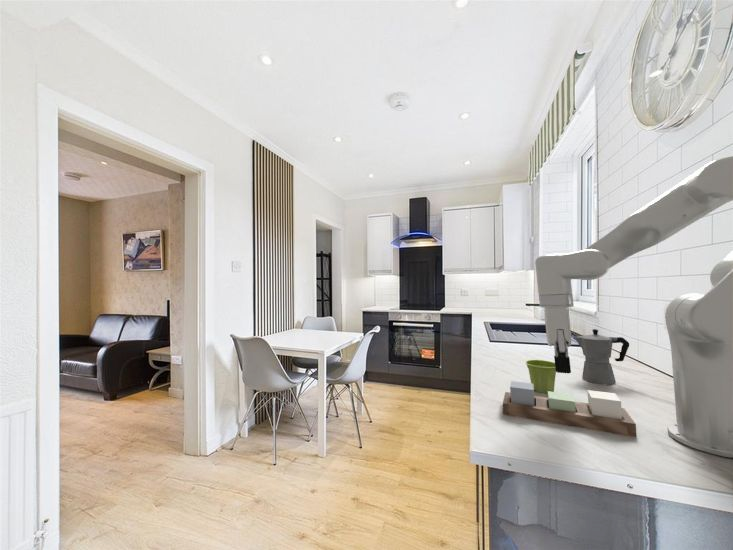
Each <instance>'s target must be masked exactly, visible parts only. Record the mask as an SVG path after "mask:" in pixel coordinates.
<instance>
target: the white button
mask: <svg viewBox="0 0 733 550" xmlns="http://www.w3.org/2000/svg"><path fill="white" fill-rule="evenodd" d="M587 403H588V406H589V411H590V414H591V415H596V416H603V417H610V418H616V419H622V408H623V407H622V401H621V399H620V398H619V397H618V395H617V394H616V392H615V393H613V392H605V391H600V390H599V391H597V390H590V389H587Z"/></svg>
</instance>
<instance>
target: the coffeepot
mask: <svg viewBox="0 0 733 550" xmlns="http://www.w3.org/2000/svg"><path fill="white" fill-rule="evenodd" d="M592 333H593V334H587V335H580V336H579V335H578V336H574V337H572V339H573V340H575V341H576V343H578V345H579V347H580V348H581V349H582V354H583V356H584V357H585V360H584V362H583V371H582V375H581V379H583V380H584V381H585V380H586V381H585V382H588V383H591V382H592V384H597V385H603V384H611V385H615V383H616V378H615V374H614V370H613V367H612V363H611V362H610V358H611V357H612V351H613V344H615V343H616V344H619V343H621V344H622V345H621V349H620V351H619V357H618V358H614V360H615V361H616V362H623V361H624V359H625V357H626V355H627V353H628V350H629V347H630V342H629V341H628V340H626V339H625V337H619V336H617V337H616V336H615V337H614V336H604V335H601V334H599V329H596V328H594V329H592Z"/></svg>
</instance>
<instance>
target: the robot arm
mask: <svg viewBox="0 0 733 550" xmlns="http://www.w3.org/2000/svg"><path fill="white" fill-rule="evenodd" d="M732 201H733V156H727V157H723V158H719V159H718V158H717V159H715V160H713V161H710V162H709V163H707V164H705V165H704V166H702V167H701V168H699V169H698V170H696V171H695V172H694V173H693V174H691V175H689V176H688V177H686V178H685V179H684V180H681V182H679V183H678V184H676V185H675V186H673V187H672V188H669V190H667V191H665V192H664V193H663V194H661V195H660V196H658V197H656V198H655V199H654V200H652V201H650V202H649V203H647V204H646V205H645V206H643V207H641V208H640V209H638V210H637V211H635V212H634V213H632V214H631V215H629V216H627V218H625V219H624V220H623V221H622V222H621V223H619V224H618V225H617V226H616V227H615V228H614V229H612V230H611V231H609V232H608V233H606V234H605V235H604V236H602V237H601V238H600V239H598V240H596V241H595V242H594V243H592V244H590V245H588V246H587V247H585V248H584V249H582V250H578V251H574V252H569V253H564V254H563V253H554V254H553V253H552V254H544V255H541V256H538V257H536V259H535V260H534V261H535V264H534V265H535V273H536V282H537V292H538V303H539V308H542V309H543V310H544V324H545V325H544V326H545V333H546V342H547V345H548V346H549V347H552V345H553V347H554V348H553V349H554V355H553V357H554V363H555V369H556V374H557V373H558V374H571V373H572V370H571V360H570V357H569V348H570V347H571V346H572V333H571V331H572V329H571V320H570V310H569V308H572V307H573V308H574V307H575V306H574V297H573V296H574V295H573V290H572V289H573V287H572V280H582V281H594V280H597V279H600V278H602V277H603V276H604V275H606V274H607V273H608V272H609V269H611V268H612V267H615V265H618V264H619V263H620V262H622V261H624V260H626V259H627V258H629V257H631V256H633V255H635V254H637V253H640V252H643V251H644V250H647V249H649V248H652V247H654V246H656V245H659V244H660V243H662V242H664V241H666V240H668V239H669V238H671V237H672V236H674V235H675V234H677V233H679V232H681V230H683V229H685V228H687V227H689V226H690V225H692V224H693V223H695V222H697V221H699V220H700V219H702V218H704V217H705V216H707V215H708V214H710V213H712V212H714V211H716V210H717V209H719V208H720V207H722V206H724V205H726V204H727V203H729V202H732ZM709 280H710V283H711V285H712V288H711V289H710V290H709V291H708V292H706V293H701V292H699V293H698V292H695V293H686V294H682V295H680V296H678V297H677V296H676V298H674V299H673V300H671V301H670V302H669V304H668V305H667V307H666V309H665V314H664V316H665V320H664V321H665V325H666V328H667V329H666V330H667V334H668V338H669V344H670V345H669V346H670V351H671V363H672V364H671V366H672V378H673V380H672V381H673V388H674V389H673V391H674V393H673V394H674V403H675V404H674V405H675V415H676V417H675V418H676V423H673V424H669V425H667V428H666V429H667V433H668V435H669V436H670V437H672V439H674V440H676V441H677V442H679V443H681V444H683V445H686V446H688V447H690V448H691V449H692V448H693V449H696V450H698V451H701V452H705V453H708V454H713V455H716V456H719V457H724V458H730V459H733V249H732V250H731V251H730V252H729V253H728V254H726V256H724V257H723V258H722V259H721V260H720V261H718V262H717V263H716V264H715V265H714V266H713V268H712V270H711V272H710V275H709Z"/></svg>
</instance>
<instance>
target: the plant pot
mask: <svg viewBox="0 0 733 550" xmlns="http://www.w3.org/2000/svg"><path fill="white" fill-rule="evenodd" d="M524 362H525V364H526V367H527V369H528V374H529V378H530V379H529V380H530V383H532V384H533V385H534V391H536V392H537V393H542V394H543V393H544V394H548V391H550V392H555V383H556V375H557V372H556V369H555V361H554V362H553V361H549V360H545V359H544V360H543V359H528V360H526V361H524Z"/></svg>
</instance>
